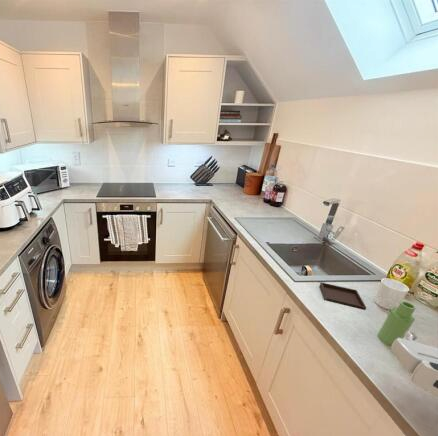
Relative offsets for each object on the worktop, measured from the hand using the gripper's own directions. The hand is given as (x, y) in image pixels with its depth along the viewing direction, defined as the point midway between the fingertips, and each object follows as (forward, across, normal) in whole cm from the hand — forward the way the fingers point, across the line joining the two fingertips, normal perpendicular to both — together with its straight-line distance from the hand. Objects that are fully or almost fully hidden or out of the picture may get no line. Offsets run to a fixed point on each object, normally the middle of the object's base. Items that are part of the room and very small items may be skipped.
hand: (431, 339), depth 63 cm
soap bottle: (+13, 0, +16) cm, 20 cm away
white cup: (+36, -8, +16) cm, 40 cm away
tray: (+33, +8, +16) cm, 37 cm away
